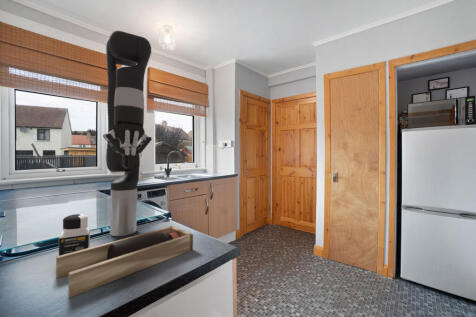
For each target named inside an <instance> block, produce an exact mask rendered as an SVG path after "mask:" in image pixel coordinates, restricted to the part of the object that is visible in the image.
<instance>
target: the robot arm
mask: <svg viewBox="0 0 476 317" xmlns="http://www.w3.org/2000/svg"><path fill="white" fill-rule="evenodd" d="M105 42H106V44H105V58H106V70H107V71H106V72H107V100H106V102H107V107H106V108H107V133H104V134H103V135H102V137H103V139H105V141H106V142H107V143H106V155H105V161H106V162H105V163H106V167H107V169H108V171H109V172H111V173H120V172H121V173H122V172H124V174H123V175H122V176H121V177H119V178H117V179H114V180H113V181H112V182H111V183H110V208H109V210H110V219H109V220H110V221H109V222H110V223H109V234H110V236H113V237H124V236H129V235H132V234H134V233H136V232H137V221H138V220H137V215H138V213H137V212H138V183H139V180H140V179H139V178H140V166H141V165H140V163H141V157H140V154H141V153H142V152H143V151H144V150H145V149H146V148H147V146H148V145H149V144H150V143H151V141H152V140H153V139H152V137H151V136H148V135H147V134H146V132H145V131H146V130H145V128H144V125H145V96H144V91H145V90H144V87H145V86H144V82H145V74H146V69H147V66H148V63H149V61H150V58H151V56H152V46H151V42H150V41H149V40H148V38H146V37H143V36H141V35H140V36H139V35H137V34H133V33H130V32H127V31H126V32H125V31H121V30H114V31H112V32H111V33H110V35H109V37H108V38H107V40H106V41H105ZM117 65H119V66H120V67H117ZM140 140H141V141H140ZM139 141H140V142H139ZM138 142H139V143H138Z"/></svg>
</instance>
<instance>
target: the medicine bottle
mask: <svg viewBox="0 0 476 317" xmlns="http://www.w3.org/2000/svg"><path fill="white" fill-rule="evenodd" d="M88 217H89V216H88V215H86V214H83V213H75V214H70V215H67V216H65V217H64V218H63V219H62V231H61V233H60V234H59V235H60V236H59V237H58V256H61V255H64V254H68V253H72V252H76V251H79V250H83V249H87V248H91V246H90V245H91V244H90V242H91V240H90V239H91V227H90V226H88V223H89V222H88V221H89V220H88Z"/></svg>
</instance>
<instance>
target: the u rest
mask: <svg viewBox="0 0 476 317" xmlns="http://www.w3.org/2000/svg"><path fill="white" fill-rule="evenodd" d="M173 232H175V233H177V235H178V237H179V238H176V239H172V240H169V241H166V242H163V243H160V244H157V245H154V246H150V247H147V248H144V249H141V250H138V251H135V252H132V253H129V254H125V255H122V256H119V257H116V258H113V259H110V260H108V259H107V252H108V248H109V246H110V245H111V244H113V243H117V242H121V241H126V240H130V239H134V238H139V237H143V236H147V235H152V234H156V233H164V234H165V235H166V234H169V233H173ZM192 250H194V234H192V233H191V232H188V231H185V230H183V229H180V228H178V227H175V226H173V225H170V226H167V227H162V228H159V229H156V230H151V231H148V232H144V233H141V234H136V235H133V236H132V235H131V236H129V237H126V238H122V239H118V240H114V241H111V242H107V243H103V244H99V245H95V246H92V247H91V246H90V248H87V249H83V250H79V251H76V252H72V253H68V254H64V255H61V256H59V255H57V256H56V257H55V258H56V261H55V262H56V264H55V265H56V267H55V268H56V269H55V270H56V271H55V273H56V274H55V277H56V278H57V279H59V278H62V277H65V276H68V291H67V293H68V297H69V298H73V297H75V296H77V295H80V294H83V293H86V292H88V291H91V290H93V289H96V288H98V287H100V286H102V285H103V286H104V285H106V284H108V283H110V282H113V281H116V280H119V279H121V278H124V277H127V276H130V275H132V274H133V273H137V272H139V271H141V270H144V269H146V268H149V267H152V266H154V265H157V264H159V263H162V262H165V261H167V260H170V259H172V258H175V257H177V256H180V255H183V254H184V253H188V252H190V251H192Z"/></svg>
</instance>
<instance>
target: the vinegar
mask: <svg viewBox="0 0 476 317" xmlns="http://www.w3.org/2000/svg"><path fill="white" fill-rule="evenodd" d="M176 238H179V237H178V235H177V233H175V232H173V233H169V234H166V235H165V234H164V233H156V234H152V235H147V236H143V237H139V238H134V239H130V240H126V241H121V242H117V243H113V244H111V245H110V246H109V248H108V252H107V259H108V260H110V259H113V258H116V257H119V256H122V255H125V254H129V253H132V252H135V251H138V250H141V249H144V248H147V247H150V246H154V245H157V244H160V243H163V242H166V241H169V240H172V239H176Z"/></svg>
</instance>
